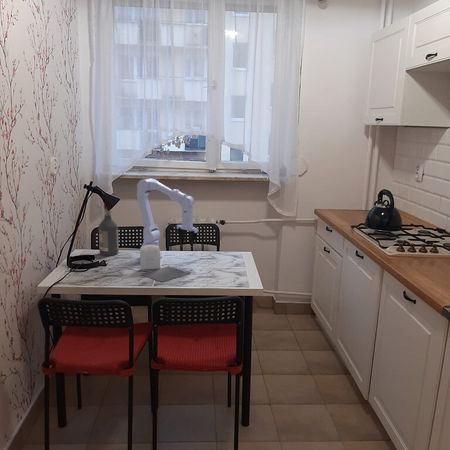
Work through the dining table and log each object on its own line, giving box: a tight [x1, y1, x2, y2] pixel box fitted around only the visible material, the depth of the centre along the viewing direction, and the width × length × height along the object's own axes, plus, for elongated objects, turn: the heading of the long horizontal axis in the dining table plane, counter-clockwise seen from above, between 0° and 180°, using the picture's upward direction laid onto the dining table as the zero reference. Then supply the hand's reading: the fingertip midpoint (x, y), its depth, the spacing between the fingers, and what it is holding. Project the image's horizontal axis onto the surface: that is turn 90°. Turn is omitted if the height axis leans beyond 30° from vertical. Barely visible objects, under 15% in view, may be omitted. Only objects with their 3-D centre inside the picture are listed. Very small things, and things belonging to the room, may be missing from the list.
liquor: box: [98, 203, 119, 257], centre depth 250 cm, size 9×9×30 cm
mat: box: [140, 265, 190, 283], centre depth 219 cm, size 16×18×1 cm
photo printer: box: [139, 245, 162, 270], centre depth 226 cm, size 10×4×12 cm, turn 98°
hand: (187, 243), depth 238 cm, fingers open, 7 cm apart
